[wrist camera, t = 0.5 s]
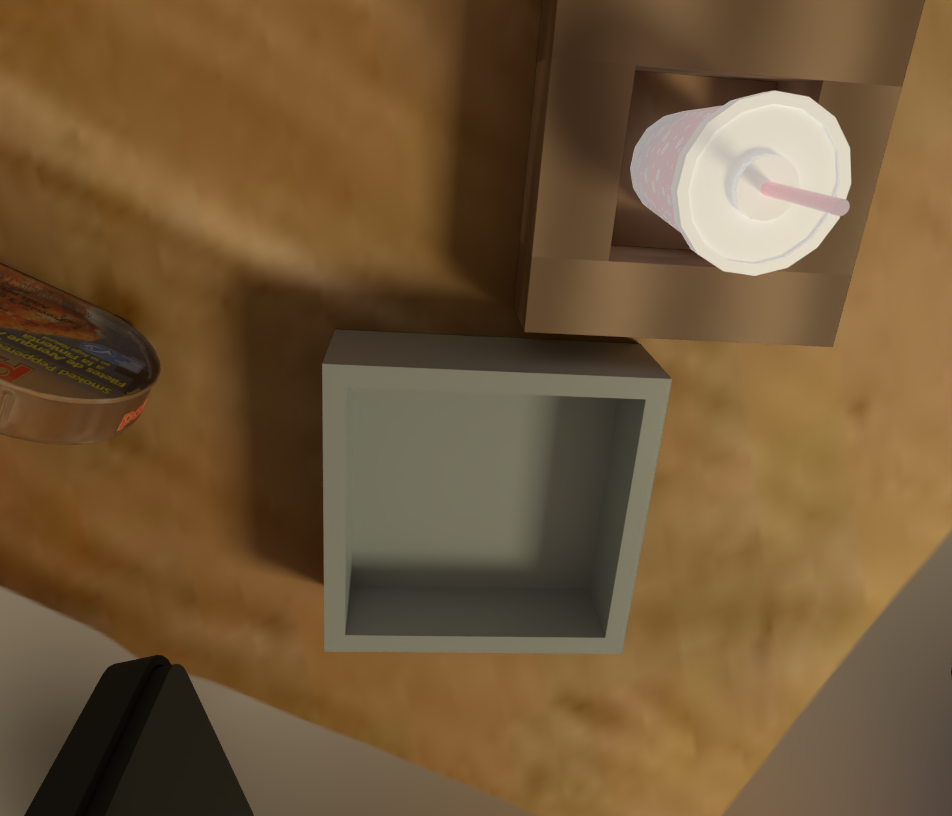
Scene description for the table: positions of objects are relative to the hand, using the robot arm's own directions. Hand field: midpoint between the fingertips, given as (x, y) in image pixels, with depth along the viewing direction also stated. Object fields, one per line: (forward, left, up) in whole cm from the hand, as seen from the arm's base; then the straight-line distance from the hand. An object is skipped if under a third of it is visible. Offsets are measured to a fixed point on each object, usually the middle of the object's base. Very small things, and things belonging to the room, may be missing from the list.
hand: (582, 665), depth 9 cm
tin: (+20, +4, -28) cm, 35 cm away
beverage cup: (-10, -4, -28) cm, 30 cm away
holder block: (-10, -4, -28) cm, 30 cm away
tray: (-2, +12, -28) cm, 30 cm away
